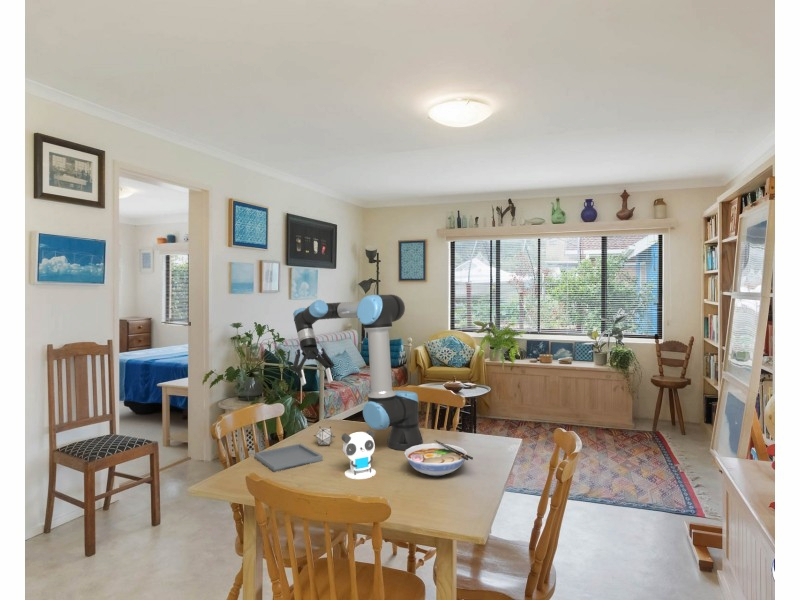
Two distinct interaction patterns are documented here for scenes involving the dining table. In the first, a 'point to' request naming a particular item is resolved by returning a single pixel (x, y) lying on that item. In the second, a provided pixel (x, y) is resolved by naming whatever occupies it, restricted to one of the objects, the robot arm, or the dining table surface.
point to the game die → (324, 436)
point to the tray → (288, 457)
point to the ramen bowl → (436, 458)
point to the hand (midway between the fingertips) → (317, 383)
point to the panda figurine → (359, 454)
